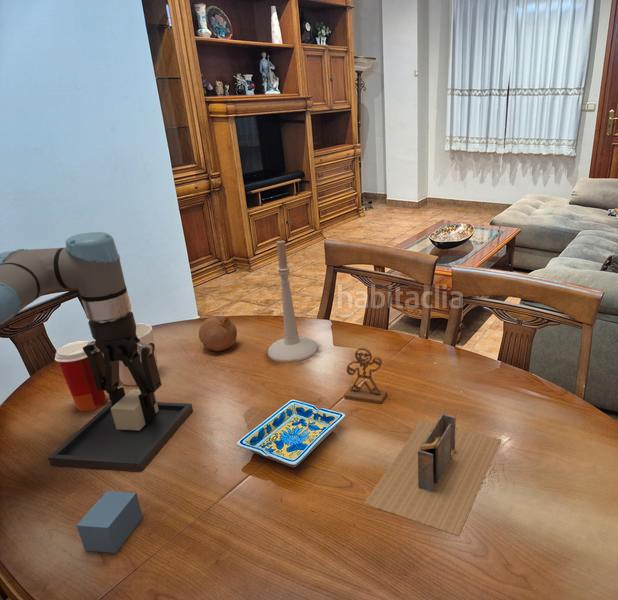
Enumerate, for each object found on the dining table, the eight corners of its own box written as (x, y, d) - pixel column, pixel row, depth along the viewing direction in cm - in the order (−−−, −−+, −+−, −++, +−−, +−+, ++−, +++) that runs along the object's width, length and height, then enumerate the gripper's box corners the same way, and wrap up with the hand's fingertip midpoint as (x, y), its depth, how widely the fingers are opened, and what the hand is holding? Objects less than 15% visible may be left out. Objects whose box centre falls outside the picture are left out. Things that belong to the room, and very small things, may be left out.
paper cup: (105, 390, 118) (89, 336, 112) (116, 403, 113) (100, 347, 107) (66, 404, 113) (48, 348, 107) (76, 418, 108) (57, 360, 102)
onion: (236, 356, 138) (248, 327, 134) (204, 361, 131) (215, 330, 127) (220, 335, 143) (231, 306, 139) (188, 338, 136) (198, 307, 132)
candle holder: (150, 387, 119) (139, 341, 114) (109, 387, 119) (96, 341, 114) (169, 366, 128) (159, 322, 123) (130, 366, 128) (119, 323, 123)
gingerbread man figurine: (343, 398, 113) (340, 350, 108) (350, 389, 116) (347, 341, 111) (382, 404, 110) (379, 354, 106) (387, 394, 114) (385, 346, 109)
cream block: (116, 429, 102) (110, 408, 100) (136, 409, 108) (131, 389, 107) (139, 430, 101) (134, 409, 100) (159, 410, 108) (154, 390, 106)
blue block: (84, 550, 76) (75, 525, 74) (114, 514, 83) (106, 490, 81) (115, 553, 76) (107, 527, 74) (143, 517, 82) (136, 492, 80)
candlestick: (271, 341, 139) (256, 234, 128) (318, 337, 141) (308, 231, 129) (264, 364, 128) (248, 248, 116) (316, 360, 129) (305, 245, 117)
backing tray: (50, 465, 94) (47, 457, 93) (115, 406, 112) (113, 399, 111) (141, 471, 92) (139, 463, 91) (193, 410, 109) (191, 403, 109)
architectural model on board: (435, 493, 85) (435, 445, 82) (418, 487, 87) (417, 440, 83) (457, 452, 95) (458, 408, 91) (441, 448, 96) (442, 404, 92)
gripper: (165, 308, 98) (188, 410, 107) (80, 306, 101) (109, 406, 109) (143, 324, 91) (169, 432, 100) (51, 322, 94) (85, 427, 102)
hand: (137, 418), depth 105 cm, fingers closed on cream block, 5 cm apart
